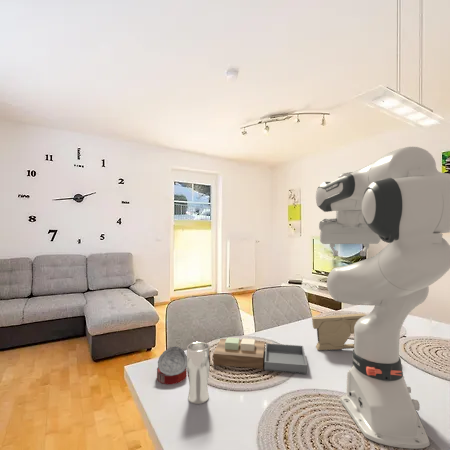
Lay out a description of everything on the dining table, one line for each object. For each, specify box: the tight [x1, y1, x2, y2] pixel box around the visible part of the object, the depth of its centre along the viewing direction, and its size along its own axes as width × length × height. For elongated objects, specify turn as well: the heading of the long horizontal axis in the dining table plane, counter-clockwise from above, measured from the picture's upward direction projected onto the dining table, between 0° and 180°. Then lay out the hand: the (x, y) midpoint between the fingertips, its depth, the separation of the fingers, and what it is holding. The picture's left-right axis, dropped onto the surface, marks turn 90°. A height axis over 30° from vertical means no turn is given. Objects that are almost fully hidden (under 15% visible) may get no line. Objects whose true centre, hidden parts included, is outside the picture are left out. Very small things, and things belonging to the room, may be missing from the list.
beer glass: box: [186, 341, 211, 405], centre depth 82 cm, size 7×7×15 cm
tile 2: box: [241, 338, 256, 351], centre depth 106 cm, size 5×5×2 cm
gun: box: [311, 313, 367, 352], centre depth 113 cm, size 24×3×15 cm, turn 84°
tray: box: [264, 342, 309, 375], centre depth 104 cm, size 16×14×3 cm
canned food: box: [156, 346, 188, 385], centre depth 94 cm, size 11×10×10 cm
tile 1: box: [225, 337, 241, 350], centre depth 107 cm, size 5×5×2 cm
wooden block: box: [212, 338, 266, 370], centre depth 107 cm, size 14×18×4 cm
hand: (349, 255), depth 102 cm, fingers open, 8 cm apart
